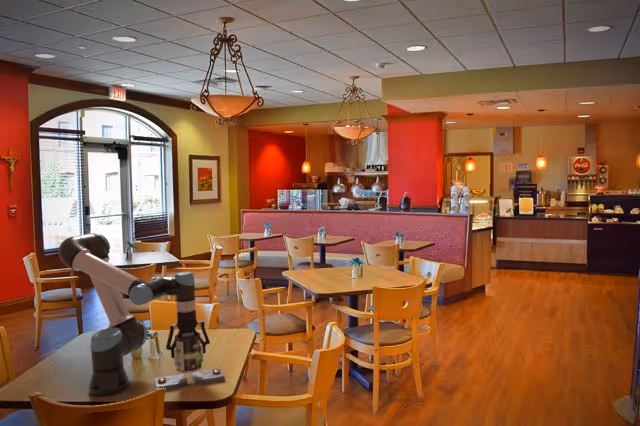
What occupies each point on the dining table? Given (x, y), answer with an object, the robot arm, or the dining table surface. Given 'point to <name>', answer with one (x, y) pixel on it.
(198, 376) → the right end plate
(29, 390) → the dining table surface
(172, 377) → the left end plate
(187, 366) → the coffee can
